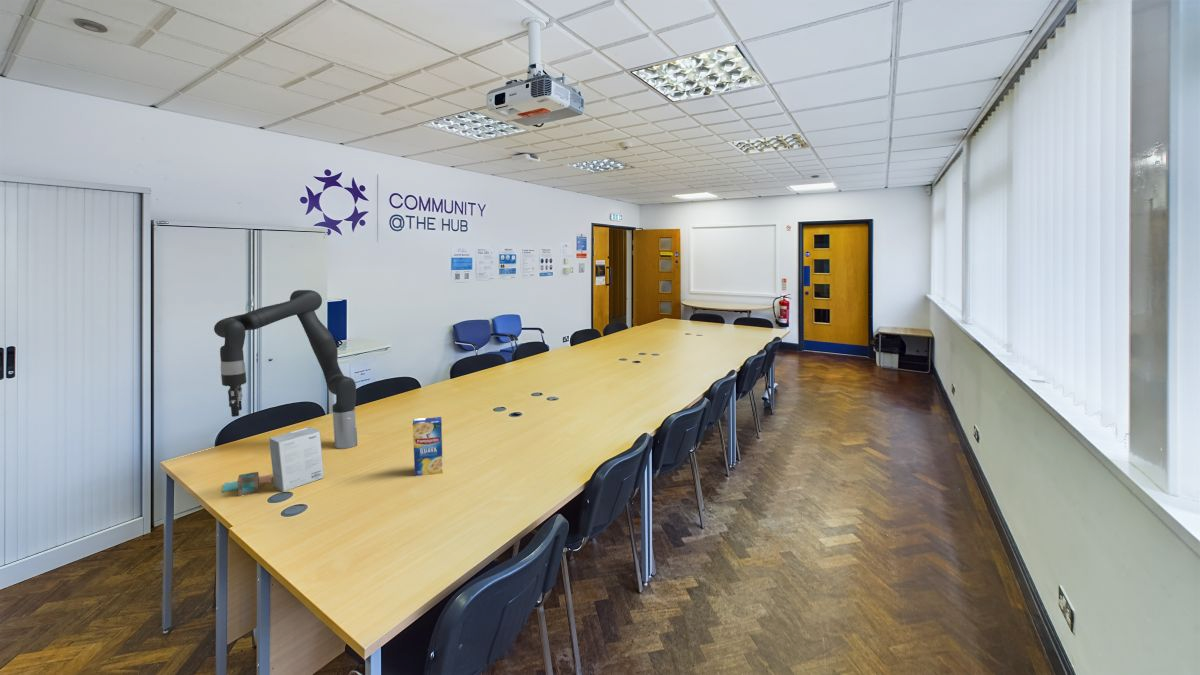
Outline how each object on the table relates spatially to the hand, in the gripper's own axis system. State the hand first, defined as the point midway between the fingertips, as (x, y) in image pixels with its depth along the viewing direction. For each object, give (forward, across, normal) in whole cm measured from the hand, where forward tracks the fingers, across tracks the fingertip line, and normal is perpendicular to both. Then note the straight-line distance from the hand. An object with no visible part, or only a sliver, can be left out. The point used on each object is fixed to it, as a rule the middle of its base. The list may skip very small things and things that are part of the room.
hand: (236, 413), depth 189 cm
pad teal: (+27, -5, +2) cm, 28 cm away
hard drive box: (+28, -12, -19) cm, 36 cm away
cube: (+28, -12, -3) cm, 30 cm away
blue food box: (+27, -24, -66) cm, 75 cm away
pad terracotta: (+27, -4, -6) cm, 28 cm away
